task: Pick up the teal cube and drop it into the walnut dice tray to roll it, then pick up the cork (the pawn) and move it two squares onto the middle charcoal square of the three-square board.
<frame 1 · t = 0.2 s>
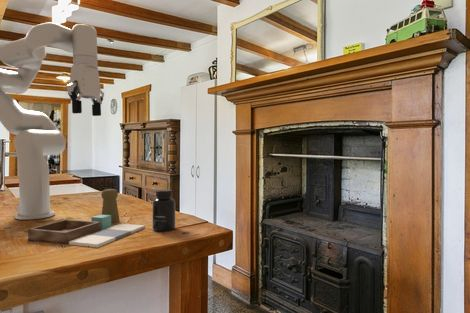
hand: (87, 114, 115), 36 cm above the counter, tool pointing down, fingers open, 9 cm apart
dice tray: (65, 235, 97), on the counter
teal cube: (101, 229, 105), on the counter
board: (110, 235, 97), on the counter
cork: (110, 222, 115), on the counter
supplement bottle: (164, 229, 104), on the counter
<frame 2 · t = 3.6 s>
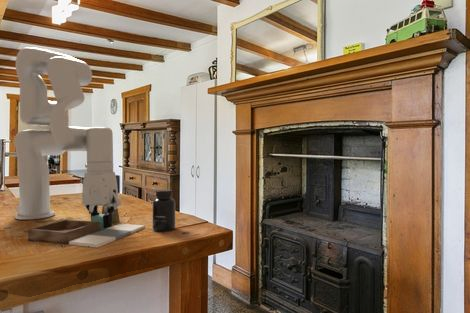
hand: (101, 226, 105), 1 cm above the counter, tool pointing down, fingers closed on teal cube, 3 cm apart
teal cube: (101, 228, 105), on the counter, touching gripper
everything else where it was.
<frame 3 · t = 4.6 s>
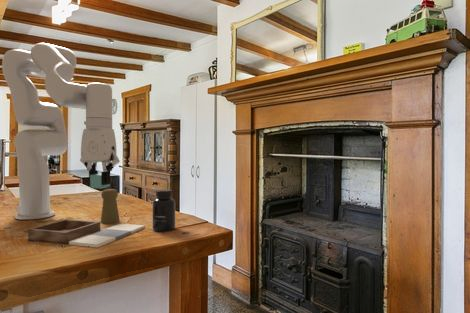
hand: (99, 183, 105), 14 cm above the counter, tool pointing down, fingers closed on teal cube, 3 cm apart
teal cube: (100, 187, 106), point 13 cm above the counter, touching gripper
everything else where it was.
when the fingers open (9 cm above the counter, at t = 5.7 s): teal cube drops 8 cm, resting on dice tray.
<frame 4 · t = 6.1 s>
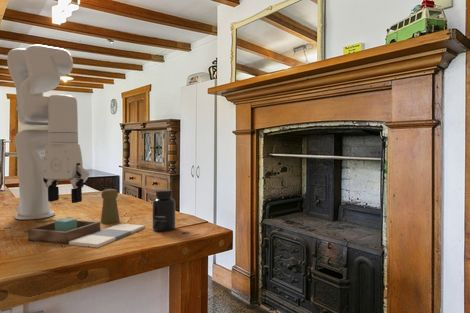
hand: (65, 201, 97), 10 cm above the counter, tool pointing down, fingers open, 7 cm apart
teal cube: (66, 233, 98), resting on dice tray
everything else where it was.
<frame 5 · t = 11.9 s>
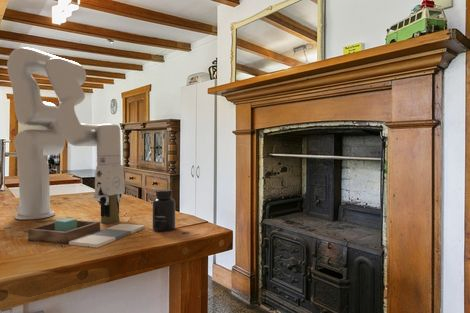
hand: (110, 214, 115), 2 cm above the counter, tool pointing down, fingers closed on cork, 4 cm apart
cork: (110, 222, 115), on the counter, touching gripper
everything else where it was.
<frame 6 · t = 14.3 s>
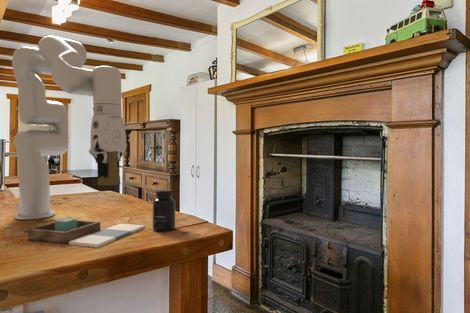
hand: (108, 176, 97), 17 cm above the counter, tool pointing down, fingers closed on cork, 4 cm apart
cork: (109, 184, 97), point 14 cm above the counter, touching gripper
everything else where it was.
when the fingers open (4 cm above the counter, at t = 17.0 s): cork stays where it is, resting on board.
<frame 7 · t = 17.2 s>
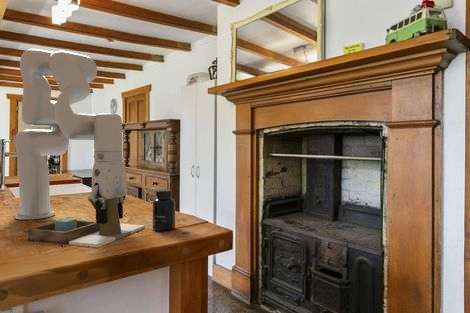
hand: (109, 220, 97), 4 cm above the counter, tool pointing down, fingers open, 6 cm apart
cork: (110, 233, 97), point 1 cm above the counter, touching board
everything else where it was.
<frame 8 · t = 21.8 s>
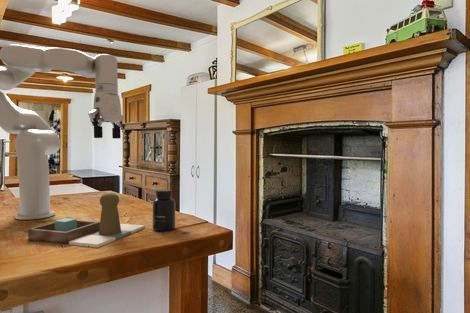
hand: (107, 138, 123), 28 cm above the counter, tool pointing down, fingers open, 9 cm apart
nothing on the counter moved.
at the end: cork inside the target area on the board (0.1 cm from its centre), point 0.6 cm above the board's base; cork tilted 0°; teal cube inside the target area on the dice tray (0.4 cm from its centre), point 0.5 cm above the dice tray's base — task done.
